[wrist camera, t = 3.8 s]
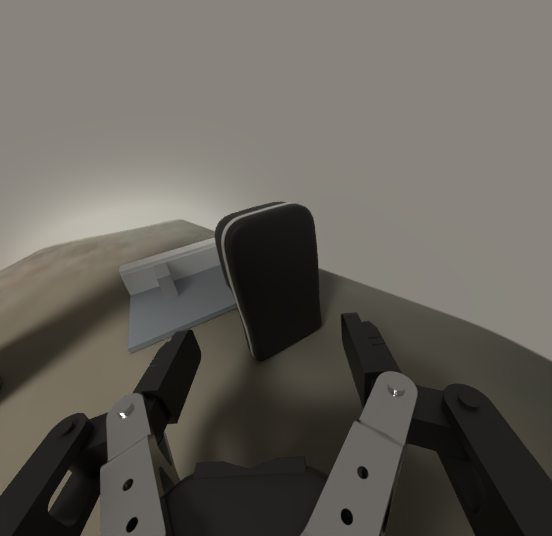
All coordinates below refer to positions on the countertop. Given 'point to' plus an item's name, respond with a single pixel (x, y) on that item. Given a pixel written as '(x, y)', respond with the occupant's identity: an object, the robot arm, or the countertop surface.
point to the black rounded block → (271, 273)
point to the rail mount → (174, 292)
